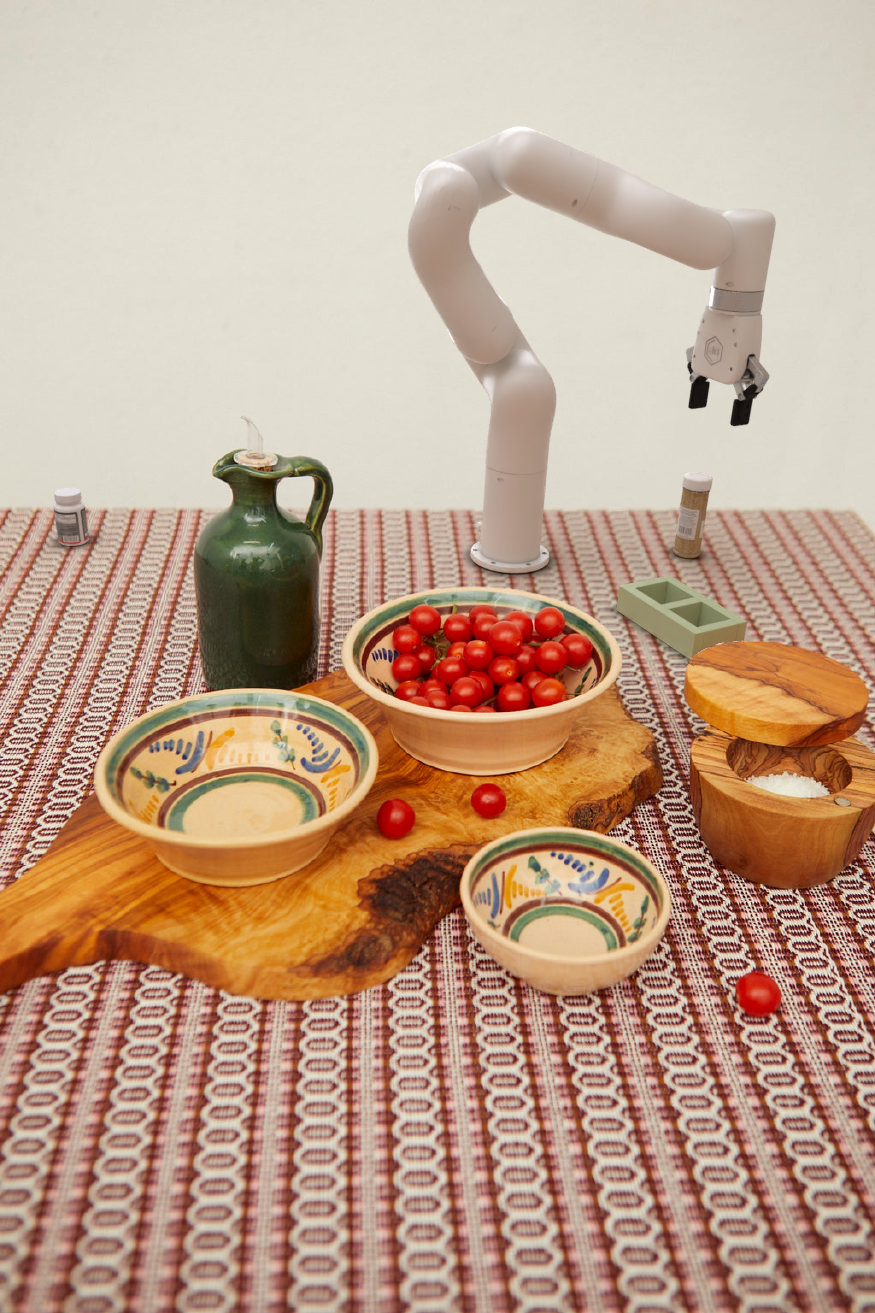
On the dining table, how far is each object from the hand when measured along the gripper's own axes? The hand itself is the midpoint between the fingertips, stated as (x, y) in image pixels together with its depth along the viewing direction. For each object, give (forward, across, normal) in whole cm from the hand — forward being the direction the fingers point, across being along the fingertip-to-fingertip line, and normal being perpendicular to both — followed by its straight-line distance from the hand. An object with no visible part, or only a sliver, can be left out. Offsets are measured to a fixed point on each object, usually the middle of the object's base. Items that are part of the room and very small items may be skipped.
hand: (717, 416), depth 167 cm
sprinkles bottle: (+24, -2, 0) cm, 24 cm away
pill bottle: (+23, -45, -90) cm, 103 cm away
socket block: (+24, +19, -19) cm, 36 cm away
